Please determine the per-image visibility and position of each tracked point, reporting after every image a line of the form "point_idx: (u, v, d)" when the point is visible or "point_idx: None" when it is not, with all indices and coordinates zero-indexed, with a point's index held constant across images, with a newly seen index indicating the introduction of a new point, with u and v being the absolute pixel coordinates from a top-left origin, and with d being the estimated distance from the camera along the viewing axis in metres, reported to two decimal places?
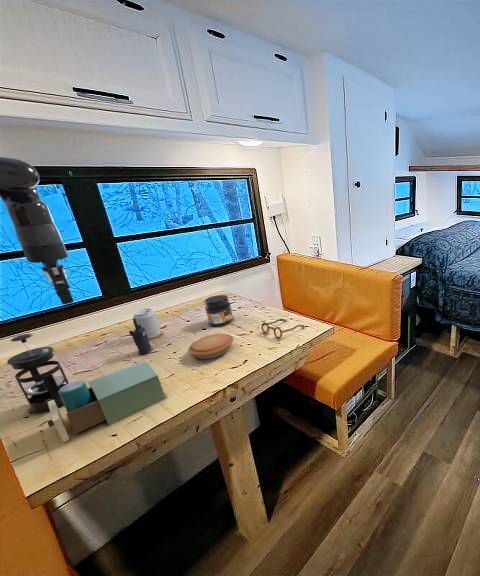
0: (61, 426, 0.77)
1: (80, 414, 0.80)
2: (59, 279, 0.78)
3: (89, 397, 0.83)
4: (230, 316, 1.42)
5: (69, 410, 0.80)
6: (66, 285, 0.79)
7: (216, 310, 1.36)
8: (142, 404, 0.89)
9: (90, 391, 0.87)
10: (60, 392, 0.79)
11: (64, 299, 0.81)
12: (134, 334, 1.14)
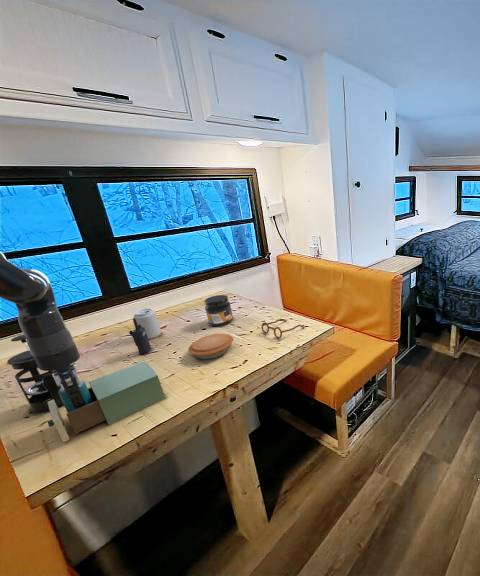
0: (61, 426, 0.77)
1: (80, 414, 0.80)
2: (72, 389, 0.77)
3: (89, 397, 0.83)
4: (230, 316, 1.42)
5: (69, 410, 0.80)
6: (79, 391, 0.78)
7: (216, 310, 1.36)
8: (142, 404, 0.89)
9: (90, 391, 0.87)
10: (60, 392, 0.79)
11: (76, 404, 0.79)
12: (134, 334, 1.14)
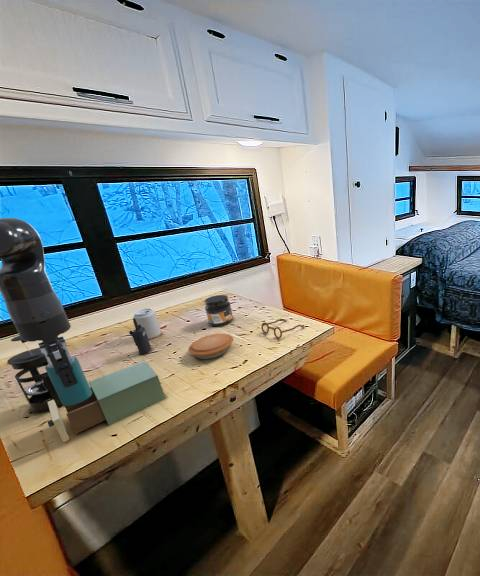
0: (61, 426, 0.77)
1: (80, 414, 0.80)
2: (61, 363, 0.65)
3: (82, 375, 0.71)
4: (230, 316, 1.42)
5: (58, 390, 0.69)
6: (69, 367, 0.66)
7: (216, 310, 1.36)
8: (142, 404, 0.89)
9: None
10: (47, 368, 0.67)
11: (67, 382, 0.68)
12: (134, 334, 1.14)
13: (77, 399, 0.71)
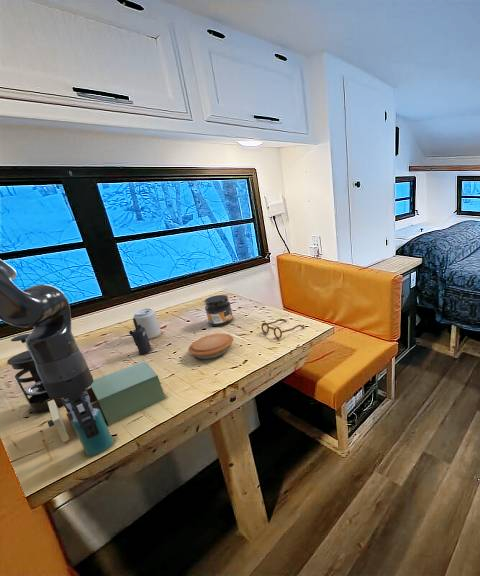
0: (61, 426, 0.77)
1: None
2: (85, 416, 0.68)
3: (104, 426, 0.76)
4: (230, 316, 1.42)
5: (83, 442, 0.73)
6: (92, 421, 0.69)
7: (216, 310, 1.36)
8: (142, 404, 0.89)
9: (90, 391, 0.87)
10: (73, 422, 0.71)
11: (89, 434, 0.71)
12: (134, 334, 1.14)
13: (100, 449, 0.75)
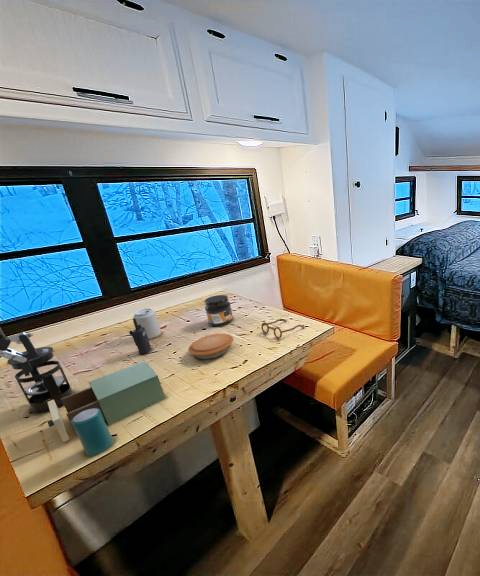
0: (61, 426, 0.77)
1: None
2: None
3: (104, 426, 0.76)
4: (230, 316, 1.42)
5: (83, 442, 0.73)
6: None
7: (216, 310, 1.36)
8: (142, 404, 0.89)
9: (90, 391, 0.87)
10: (73, 422, 0.71)
11: None
12: (134, 334, 1.14)
13: (100, 449, 0.75)
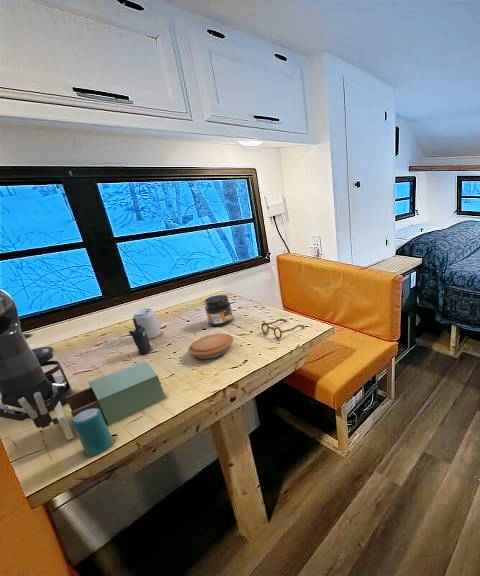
0: (66, 424, 0.77)
1: None
2: None
3: (104, 426, 0.76)
4: (230, 316, 1.42)
5: (83, 442, 0.73)
6: None
7: (216, 310, 1.36)
8: (142, 404, 0.89)
9: None
10: (73, 422, 0.71)
11: None
12: (134, 334, 1.14)
13: (100, 449, 0.75)
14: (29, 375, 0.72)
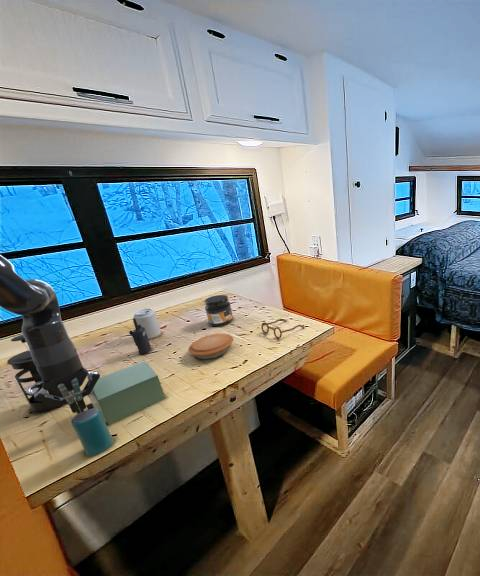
0: (100, 409, 0.82)
1: None
2: None
3: (104, 426, 0.76)
4: (230, 316, 1.42)
5: (83, 442, 0.73)
6: None
7: (216, 310, 1.36)
8: (142, 404, 0.89)
9: None
10: (73, 422, 0.71)
11: (71, 409, 0.82)
12: (134, 334, 1.14)
13: (100, 449, 0.75)
14: (68, 363, 0.77)
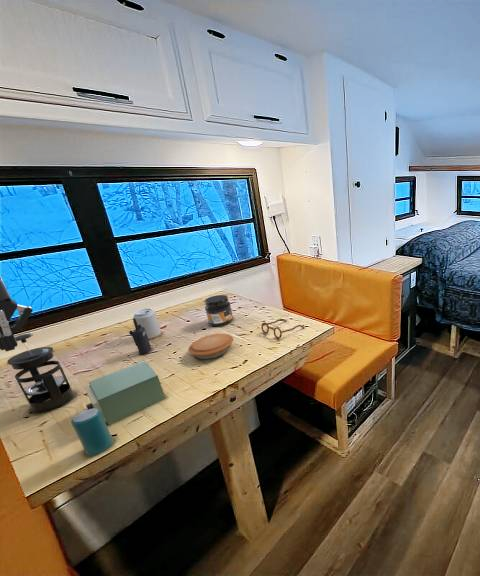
0: (100, 409, 0.82)
1: None
2: None
3: (104, 426, 0.76)
4: (230, 316, 1.42)
5: (83, 442, 0.73)
6: None
7: (216, 310, 1.36)
8: (142, 404, 0.89)
9: None
10: (73, 422, 0.71)
11: None
12: (134, 334, 1.14)
13: (100, 449, 0.75)
14: None
